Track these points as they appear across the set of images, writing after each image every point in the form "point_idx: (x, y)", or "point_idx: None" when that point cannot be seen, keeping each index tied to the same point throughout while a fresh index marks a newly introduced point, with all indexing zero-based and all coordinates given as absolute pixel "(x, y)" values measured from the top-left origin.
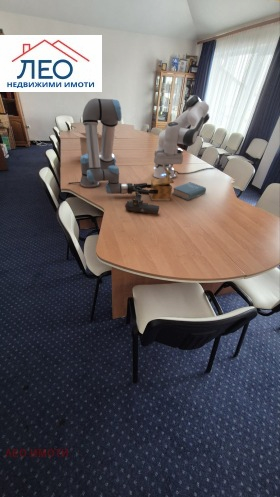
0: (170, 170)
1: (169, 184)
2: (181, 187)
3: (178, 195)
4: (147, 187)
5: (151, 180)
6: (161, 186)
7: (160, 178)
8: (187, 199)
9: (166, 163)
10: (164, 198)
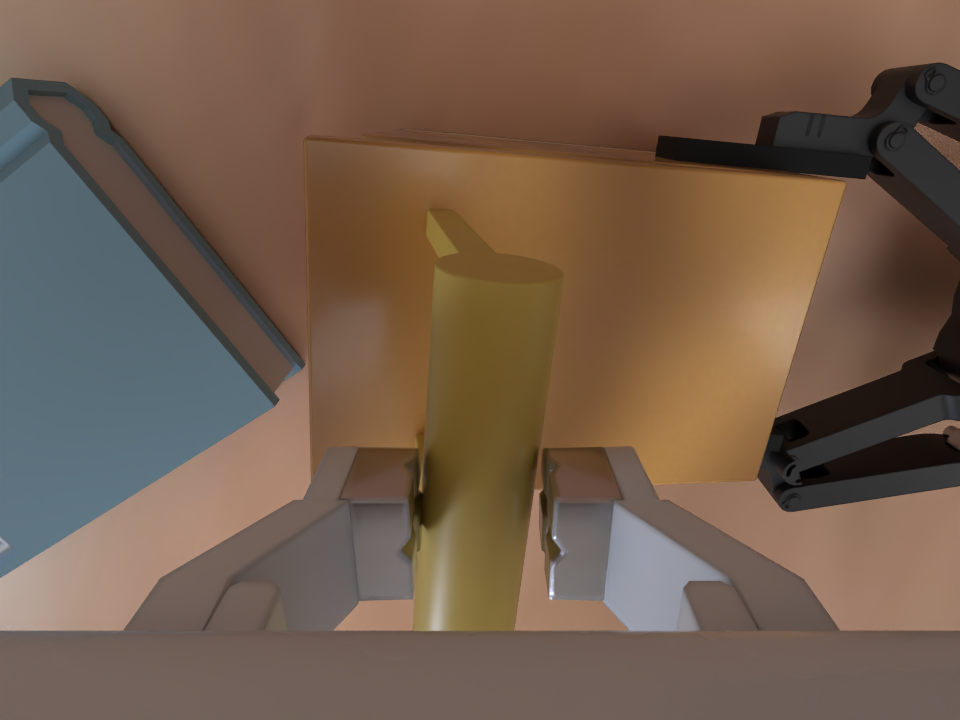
0: (341, 447)
1: None
2: (125, 416)
3: (225, 275)
4: None
5: (762, 459)
6: None
7: None
8: (96, 113)
9: (712, 671)
10: (504, 139)
